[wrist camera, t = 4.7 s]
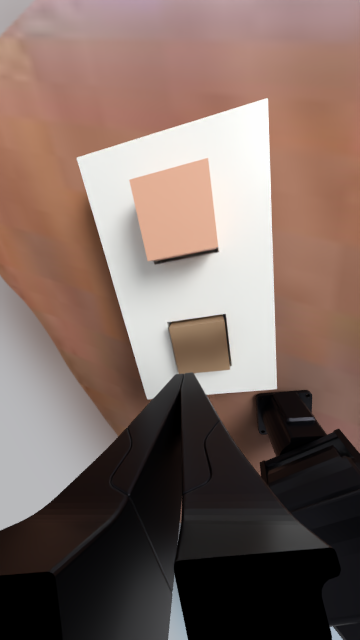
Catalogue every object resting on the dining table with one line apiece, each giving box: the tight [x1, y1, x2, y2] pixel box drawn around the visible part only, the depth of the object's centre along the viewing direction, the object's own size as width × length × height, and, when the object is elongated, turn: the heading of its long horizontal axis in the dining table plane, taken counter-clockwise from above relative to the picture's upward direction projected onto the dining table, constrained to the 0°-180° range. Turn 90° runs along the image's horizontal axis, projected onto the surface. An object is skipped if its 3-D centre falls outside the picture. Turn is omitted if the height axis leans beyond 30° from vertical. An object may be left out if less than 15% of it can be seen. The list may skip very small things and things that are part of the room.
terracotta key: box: [129, 158, 218, 261], centre depth 14 cm, size 5×5×4 cm
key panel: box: [77, 98, 277, 399], centre depth 18 cm, size 23×14×4 cm, turn 11°
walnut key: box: [169, 314, 230, 374], centre depth 19 cm, size 5×5×4 cm
